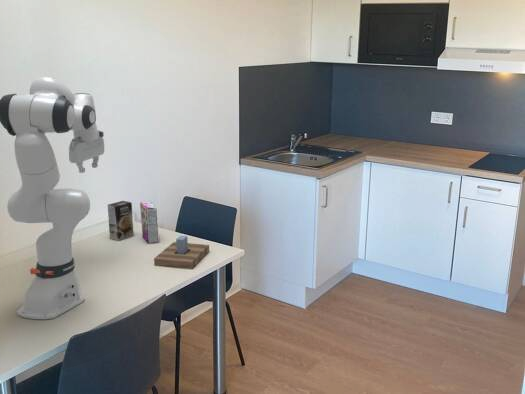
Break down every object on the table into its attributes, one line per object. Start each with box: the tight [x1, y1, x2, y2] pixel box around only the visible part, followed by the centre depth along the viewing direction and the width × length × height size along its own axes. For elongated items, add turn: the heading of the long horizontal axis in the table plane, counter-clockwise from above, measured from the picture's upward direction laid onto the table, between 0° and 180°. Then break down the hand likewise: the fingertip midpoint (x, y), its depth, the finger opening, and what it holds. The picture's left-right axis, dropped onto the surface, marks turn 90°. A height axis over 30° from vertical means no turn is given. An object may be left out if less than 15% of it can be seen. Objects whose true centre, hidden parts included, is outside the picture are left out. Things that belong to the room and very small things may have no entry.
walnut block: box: [153, 241, 210, 270], centre depth 230 cm, size 20×16×3 cm
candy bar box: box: [139, 201, 159, 245], centre depth 251 cm, size 11×5×16 cm, turn 25°
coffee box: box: [107, 200, 134, 242], centre depth 254 cm, size 9×6×16 cm
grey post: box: [175, 235, 189, 255], centre depth 229 cm, size 4×3×9 cm, turn 166°
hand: (88, 169), depth 222 cm, fingers open, 8 cm apart
